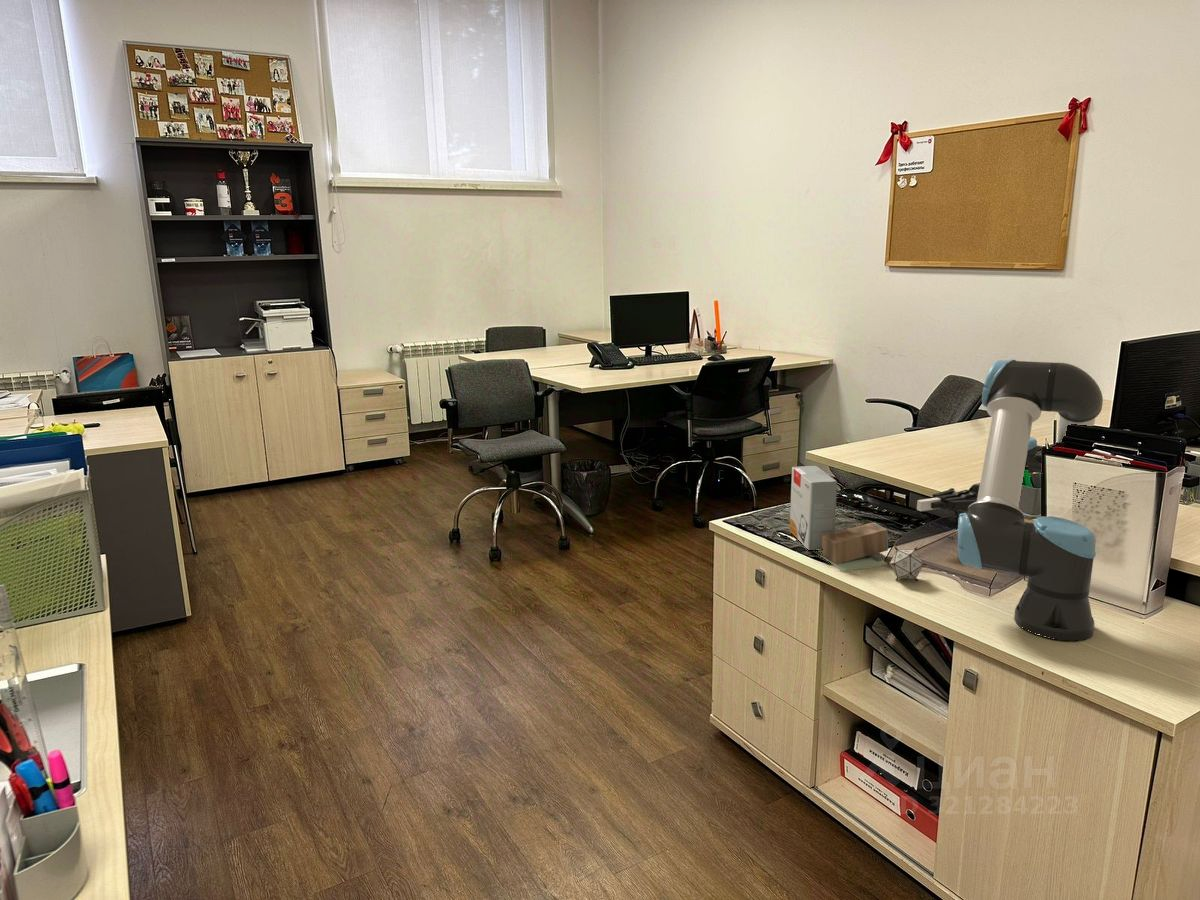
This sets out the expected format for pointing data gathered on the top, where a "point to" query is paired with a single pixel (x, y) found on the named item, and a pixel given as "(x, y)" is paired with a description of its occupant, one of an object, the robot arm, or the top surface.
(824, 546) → the walnut block
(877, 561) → the pale green square plate
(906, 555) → the game die
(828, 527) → the hard drive box
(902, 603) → the top surface
